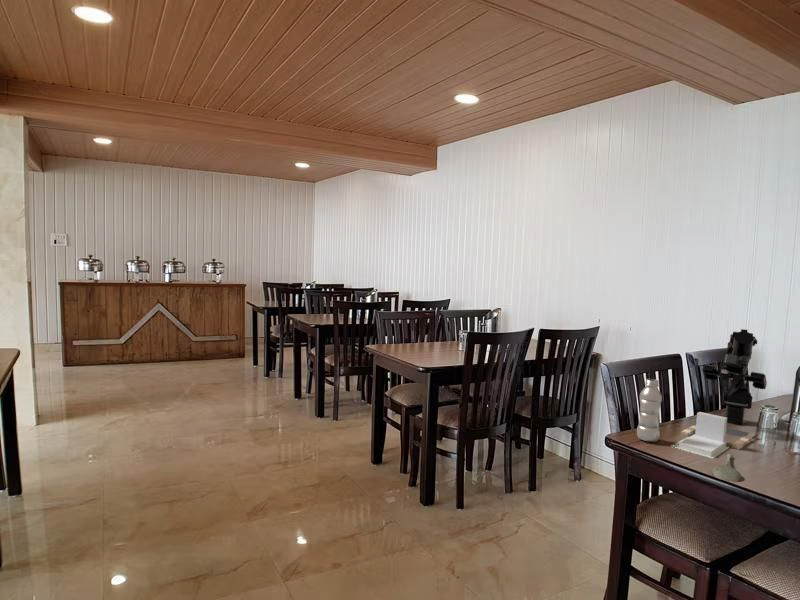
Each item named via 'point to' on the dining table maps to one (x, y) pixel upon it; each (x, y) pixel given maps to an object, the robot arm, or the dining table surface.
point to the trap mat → (736, 432)
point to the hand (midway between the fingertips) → (726, 395)
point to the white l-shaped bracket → (707, 435)
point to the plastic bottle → (649, 411)
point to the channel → (736, 445)
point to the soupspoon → (727, 471)
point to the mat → (702, 454)
